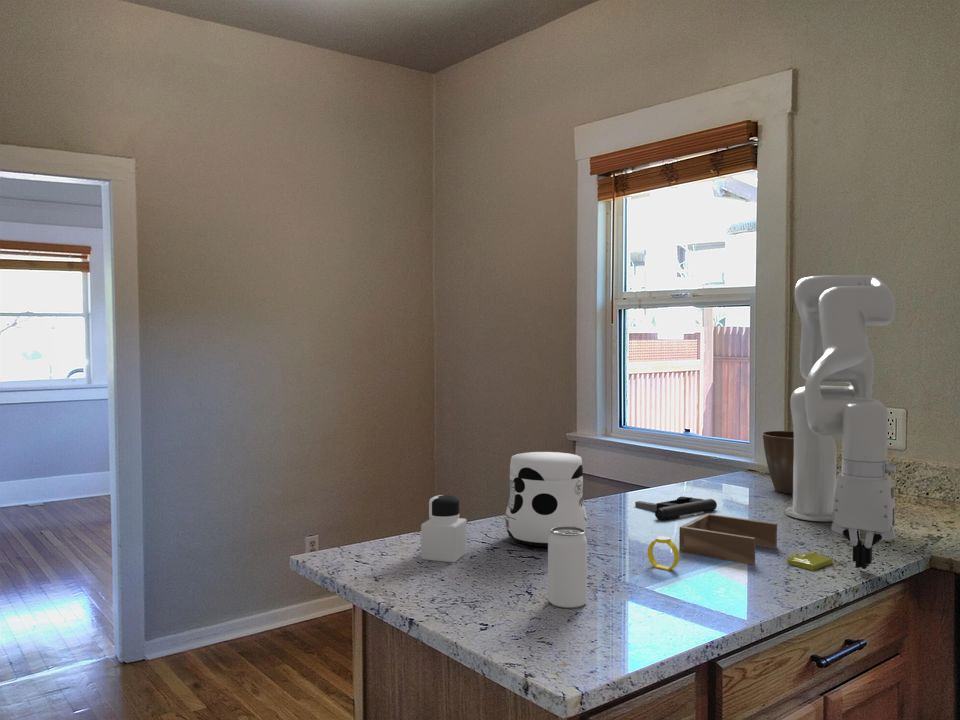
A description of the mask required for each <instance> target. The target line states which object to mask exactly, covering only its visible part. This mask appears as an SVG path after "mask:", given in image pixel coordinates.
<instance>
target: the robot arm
mask: <svg viewBox="0 0 960 720" xmlns="http://www.w3.org/2000/svg"><path fill="white" fill-rule="evenodd" d="M794 302H795V305H796V309H797V312H798V315H799V318H800V323H801V334H800V335H801V337H800V352H799V372H800V375H801V376H802V378H803V379H804V380H805V384H804V386H800V387H798V388H796V389H794V390H793V392H792V393H791V396H790V400H789V401H790V402H789V403H790V404H789V406H790V412H791V417H792V418H791V419H792V426H793V427H792V428H793V429H792V431H794V462H793V494H792V506H787V507H786V509H785V514H786V516H787V515H788V516H789V517H791V518H794V519H798V520H802V521H803V520H804V521H811V522H824V523H825V522H832V523H831V528H830V530H831V531H833V532H835V533H837V534H839V535H843V536H844V537H845V539H847V540H848V541H849V542H850V545H851V546H852V562H855V568H857V569H859V568H861V569H862V570H866V569H867V567H869V565H872V562H873V561H872V560H873V546H875V545H876V544H877V543H879V542H880V541H888V540H889V541H892V540H894V539H895V538H896V533H895V530H894V528H895V524H896V504H895V503H896V502H895V491H894V490H895V489H894V485H893V480H892V477H890V476H888V475H889V474H891V473H893V474H895V473H896V471H897V470H896V469H897V466H896V465H893V464H890V462H889V461H888V428H889V423H888V421H889V417H888V416H889V411H888V409H887V406H885V405H884V404H882V402H881V401H880V400H879V399H876V398H872V395H873V393H872V392H873V383H874V382H873V381H874V372H875V371H874V370H875V367H874V366H875V364H874V363H875V361H874V354H873V352H872V350H871V347H870V345H869V339H868V333H867V331H868V330H867V327H884V326H888V325H890V324H891V323H892V321H893V320H894V318H895V314H896V303H895V297H894V294H893V293H892V291H891V289H890V288H889V286H888V285H887V283H885V282H883V281H882V280H881V279H880V278H878V277H877V276H875V275H870V274H869V275H866V274H865V275H860V274H859V275H857V274H856V275H850V274H849V275H834V274H833V275H812V276H811V275H810V276H806V277H802V278H800V279H799V280H798V281H797V283H796V284H795V287H794ZM821 383H840V384H841V383H842V384H845V383H846V384H849V385H848V386H846V385H845V386H843V385H839V386H838V385H821ZM834 436H836V437H838V436H840V437H842V438H841V440H842V441H841V472H839V473H838V474H837V444H836V441H835V439H834V438H833V437H834ZM860 531H863V532H866V534H865V538H864V540H865V541H864V542H863V541H862V540H861V533H860Z"/></svg>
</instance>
